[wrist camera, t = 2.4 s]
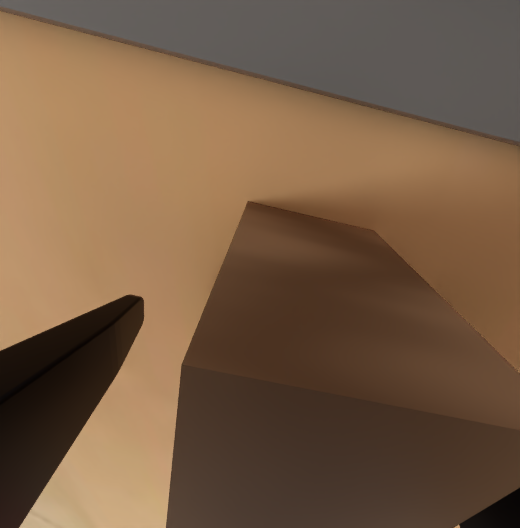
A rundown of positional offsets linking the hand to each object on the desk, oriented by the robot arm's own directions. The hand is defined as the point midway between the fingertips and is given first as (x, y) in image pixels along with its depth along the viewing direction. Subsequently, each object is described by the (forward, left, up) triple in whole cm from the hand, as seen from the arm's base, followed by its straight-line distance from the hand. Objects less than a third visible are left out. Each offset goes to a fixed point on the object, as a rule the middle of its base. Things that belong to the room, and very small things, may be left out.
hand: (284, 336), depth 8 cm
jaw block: (0, 0, -2) cm, 2 cm away
